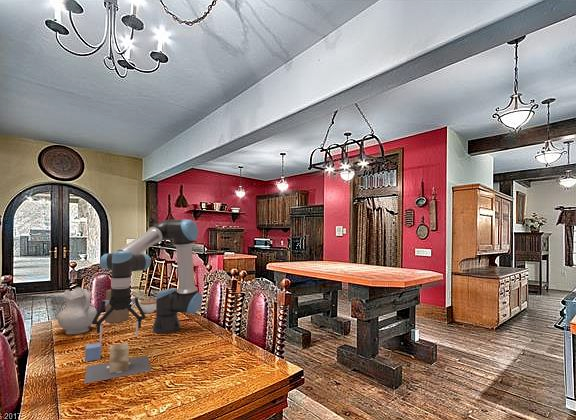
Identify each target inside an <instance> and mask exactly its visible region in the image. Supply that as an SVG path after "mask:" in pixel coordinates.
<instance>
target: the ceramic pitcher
mask: <svg viewBox="0 0 576 420" xmlns="http://www.w3.org/2000/svg"><path fill="white" fill-rule="evenodd" d="M91 297H92V292H91V291H90V290H89V289H85V288H82V287H79V286H77V287H75V288H74V289H73V290H72V291H70V290H69V289H68V290H67V289H65V291H64V292H63V298H64V300H65V302H66V303H65V307H64V308H63V309H62V310H60V312H59V313H58V314H57V317H56V318H57V323H58V325H59V327H60V328H61V329H63V330H65V335H79V334H83V333H88V331H90V330H91V329H90V328H89V327H90V326H92V325H93V324H92V321H93V319H94V317H95V316H96V314H97V312H98V311H97V310H98V309H96V308H95V307H94V306H92V305H91V299H92V298H91Z"/></svg>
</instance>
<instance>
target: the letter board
mask: <svg viewBox="0 0 576 420" xmlns="http://www.w3.org/2000/svg"><path fill="white" fill-rule="evenodd" d="M152 371H153V370H152V367H151V364H150V360H149V357H148V355H146V356H145V355H144V356H140V357H139V356H138V357H133V358H129V366H128V370H124V371H119V372H113V373H109V362H105V363H98V364H97V363H96V364H92V365H86V369H85V375H84V380H83V382H84V383H83V384H88V383H93V382H99V381H104V380H110V379H115V378H119V377H120V378H121V377H125V376H131V375H136V374H137V375H138V374H141V373H147V372H152Z"/></svg>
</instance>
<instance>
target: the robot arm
mask: <svg viewBox="0 0 576 420" xmlns="http://www.w3.org/2000/svg"><path fill="white" fill-rule="evenodd" d="M198 235H199V228H198V225H197V223H196V222H195V221H194V220H193V219H186V218H185V219H166V220H163V221H160V222H157V223H156V224H154V225H152V226H151V227H149V228H148V229H147V230H146V232H145V233H143V234H141V235H140V236H138V237H136V238H135V239H133V240H132V241H130V242H129V243H127V244H125V245H124V246H122V247H120V248H119V249H117V250H116V251H114V252H111V253H109V252H108V253H104V254H103V255H102V256H101V257H100V259H99V265H100V267H101V269H103V270H108V271H111V277H110V278H111V279H110V280H111V281H110V287H111V288H110V289H111V299H110V301H106V299H103V300H102V301H101V305H100V307H99V309H97V310H98V311H97V314H96V316H95V317H94V319H93V321H92V325H95V326H96V334H99V339H98V340H99V342H98V343H102V340H103V339H102V337H103V336H102V335H103V322H105V319H106V318H107V316H108V315H109V314H110V313H111V312H112V311H113V310H124V309H126V308H127V309H128V310H129V313H131V314H132V316H134V318H136V319H135V338H138V337H139V329H141V328H142V320H145V319H146V317H147V316H146V313H144V312H143V310H142V308H141V304H140V303H139V298H138V297H137V296H135V297H133V298H131V290H132V288H131V284H132V283H131V282H132V273H133V272H139V271H141V272H142V271H144V270H147V269H149V268H150V266H151V264H152V259H151V257H150V255H148V254H146V253H143V252H145V251H146V250H147V249H148V250H149V248H150V247H152V246H154V245H155V244H159V243H161V242H162V241H172V245H173V246H174V247H176V249H175V251H176V262H177V277H178V278H177V279H178V288H175V287H174V288H168V289H163V290H159V291H158V292H156V299H155V300H156V309H155V320H154V322H153V325H152V332H153V333H156V334H170V333H174V332H177V331H179V330H181V322H180V320H179V317H178V313H181V314H196V313H197V312H198V311H200V308H201V306H202V303H203V295H202V293H201V292H198V290H199V289H198V287H197V286H196V285H195V272H194V271H195V270H194V256H193V254H194V253H193V245H194V244H195V240H197V239H198ZM108 303H109V304H110V305H111V307H110V308H109V310H108V311H107V312H106V313H104V314H103V315H102V316H101V314H102V313H103V310H104V309H105V308H106V305H107V304H108ZM131 303H133V304H135V306H136V308H137V310H138V312H139V313H140V315H139V314H138V313H137V312H136V311H135V310H134V309H133V308H132V307H131V305H130V304H131ZM100 316H101V317H100ZM99 318H100V319H99Z"/></svg>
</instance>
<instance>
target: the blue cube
mask: <svg viewBox="0 0 576 420" xmlns="http://www.w3.org/2000/svg"><path fill="white" fill-rule="evenodd" d="M101 356H102V342H95V343H91V344H90V343H89V344H86V345H85V349H84V362H91V361H97V360H101V359H102V357H101Z"/></svg>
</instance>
